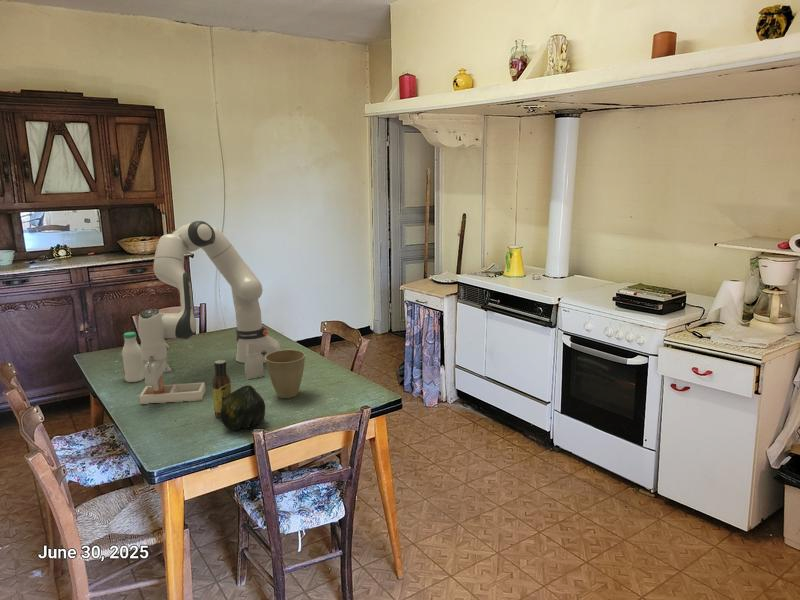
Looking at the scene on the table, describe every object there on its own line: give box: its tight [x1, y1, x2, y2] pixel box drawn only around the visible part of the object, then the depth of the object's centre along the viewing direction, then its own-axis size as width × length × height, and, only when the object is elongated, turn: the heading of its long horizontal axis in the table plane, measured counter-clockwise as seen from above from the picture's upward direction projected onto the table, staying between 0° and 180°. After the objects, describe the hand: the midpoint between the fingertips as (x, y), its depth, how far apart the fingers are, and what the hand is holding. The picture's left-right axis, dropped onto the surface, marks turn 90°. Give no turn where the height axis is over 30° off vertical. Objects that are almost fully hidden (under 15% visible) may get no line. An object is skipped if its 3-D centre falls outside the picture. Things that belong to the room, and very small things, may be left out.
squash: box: [220, 384, 266, 431], centre depth 207 cm, size 14×15×15 cm
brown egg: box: [151, 376, 165, 394], centre depth 231 cm, size 4×4×6 cm
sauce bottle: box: [212, 359, 232, 418], centre depth 214 cm, size 6×6×20 cm
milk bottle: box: [121, 331, 145, 383], centre depth 250 cm, size 8×8×20 cm
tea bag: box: [243, 353, 265, 380], centre depth 252 cm, size 4×7×10 cm, turn 121°
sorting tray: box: [138, 381, 206, 405], centre depth 232 cm, size 22×10×4 cm, turn 99°
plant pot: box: [265, 349, 306, 399], centre depth 232 cm, size 15×15×16 cm
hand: (158, 387), depth 231 cm, fingers closed on brown egg, 4 cm apart
